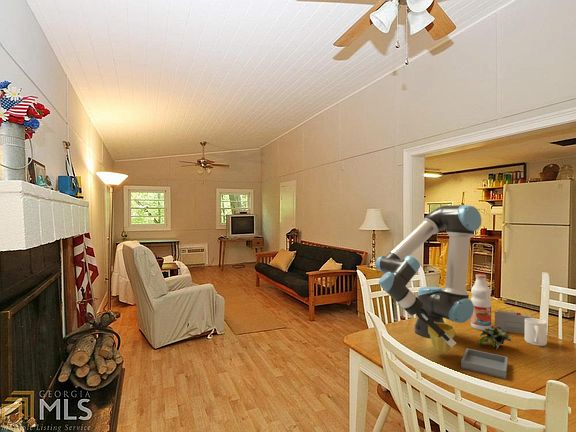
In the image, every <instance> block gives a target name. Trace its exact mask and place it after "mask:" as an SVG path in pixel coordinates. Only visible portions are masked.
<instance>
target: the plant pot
mask: <svg viewBox="0 0 576 432" xmlns="http://www.w3.org/2000/svg"><path fill="white" fill-rule="evenodd" d="M436 324H437V325H438V326H439V327H440V328H441V329H442V330H443V331H444V332H446V333H447V334H448V335H449V336H450V337H451V338H452V339H453V340H454V337H455V334H456V333H455V332H456V328H455V326H453V325H451V324H449V323H446V322H444V323H436ZM428 333H429V334H430V337H431V338H430V340H431V344H432V348H433V350H434V351H437V352H440V353H448V352H450V351H451V348H452V347H450V346H449V345H448V344H447V343H446V342H445V341H444V340H443V339H442V338H441V337H438V336H439V335H438V334H437V333H436V332H435V331H434V330H433V329H432V328H431V327H430V326H429V325H428Z"/></svg>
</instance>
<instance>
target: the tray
mask: <svg viewBox="0 0 576 432" xmlns="http://www.w3.org/2000/svg"><path fill="white" fill-rule="evenodd" d="M508 359H509V358H508V356H504V355H500V354H496V353H491V352H487V351H481V350H476V349H472V348H467V347H466V348H465V351H464V353H463V355H462V358H461V359H460V362H461V363H460V368H461V369H463V370H466V371H469V372H474V373H478V374H481V375H486V376H491V377H494V376H495V378H498V377H499V378H498V379H503V380H507V374H508V373H507V372H508V363H509V362H508V361H509V360H508Z"/></svg>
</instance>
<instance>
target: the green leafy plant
mask: <svg viewBox="0 0 576 432" xmlns="http://www.w3.org/2000/svg"><path fill="white" fill-rule="evenodd" d="M479 337H481V338H480V339H479V340H478V341H477V343H478V344H479V345H484V344H487V343H490V344H491V346H492V347H493V348H496V349H495V351H497V350H498V348H499V346H500V345H504V341H509V342H512V341H513V340H512V339H511V338H510V334H509V333H508V332H506V331H504V330H501V327H498V326H495V325H491V328H489V329H487V328H485V330H481V332H480V334H479Z"/></svg>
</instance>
